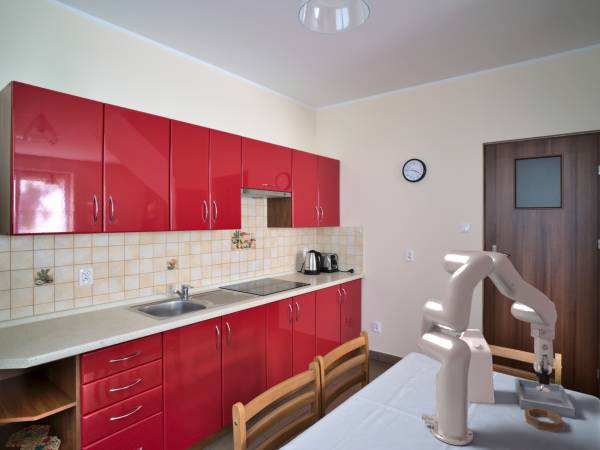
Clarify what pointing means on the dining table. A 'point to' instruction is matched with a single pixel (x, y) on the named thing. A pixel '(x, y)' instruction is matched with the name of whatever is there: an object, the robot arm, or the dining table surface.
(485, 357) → the milk
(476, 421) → the dining table surface
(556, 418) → the collar
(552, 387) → the tray
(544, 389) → the wineglass
